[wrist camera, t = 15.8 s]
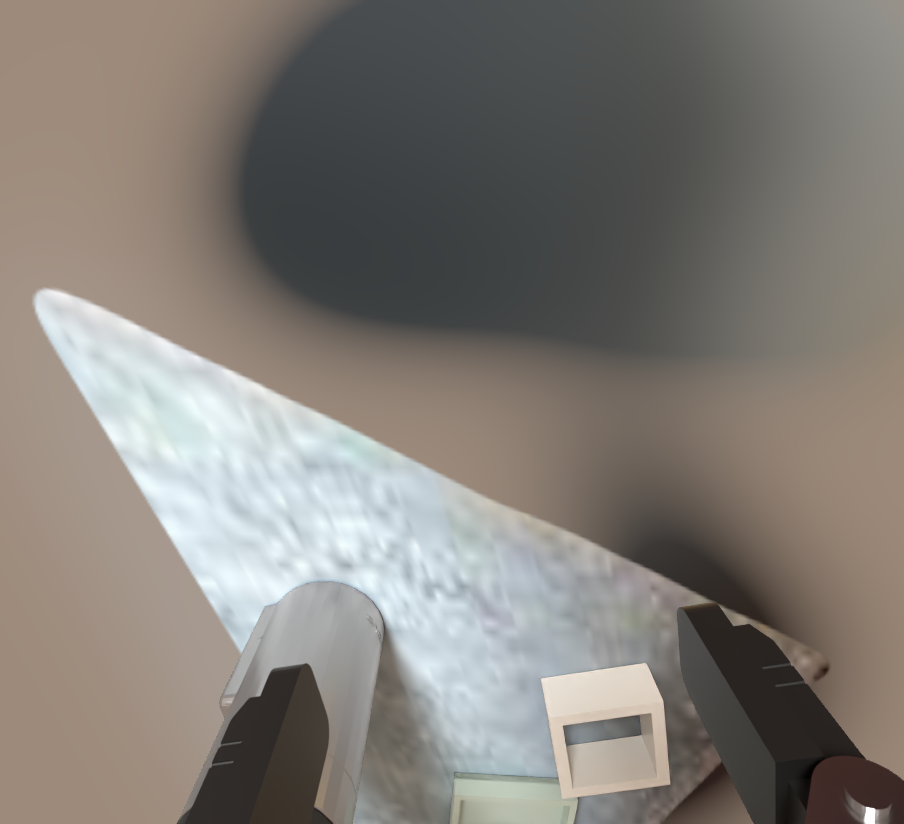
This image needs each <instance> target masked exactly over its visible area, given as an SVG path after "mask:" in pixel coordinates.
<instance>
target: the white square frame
mask: <svg viewBox="0 0 904 824" xmlns="http://www.w3.org/2000/svg"><path fill="white" fill-rule="evenodd" d="M541 683H542V689H543V694H544V700H545V706H546V712H547V718H548V724H549V730H550V735H551V741H552V747H553V753H554V759H555V764H556V769H557V774H558V779H559V785H560V790H561V795H562V799H567V798H574V797H582V796H589V795H597V794H604V793H612V792H619V791H626V790H634V789H641V788H649V787H656V786H664V785H670V775H669V763H668V751H667V739H666V727H665V715H664V703H663V699H662V697H661V695H660V693H659V690H658V688H657V686H656V684H655V681H654V679H653V677H652V675H651V672H650V670H649V668H648V666H647V663H642V664H635V665H628V666H622V667H615V668H608V669H601V670H594V671H588V672H581V673H574V674H567V675H561V676H554V677H547V678H541ZM633 715H640V724H641V734H642V735H640V736H633V737H625V738H618V739H611V740H604V741H597V742H590V743H582V744H575V745H568V746H566V743H565V737H564V731H563V725H570V724H577V723H584V722H591V721H598V720H605V719H612V718H619V717H626V716H633Z"/></svg>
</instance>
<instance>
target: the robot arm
mask: <svg viewBox="0 0 904 824" xmlns="http://www.w3.org/2000/svg"><path fill="white" fill-rule="evenodd" d="M677 621H678V636H679V651H680V664H681V671H682V675H683V679H684V683H685V686H686V689H687V691H688V694H689V696H690V698H691V700H692V702H693V704H694V706H695V708H696V710H697V712H698V714H699V716H700V718H701V720H702V722H703V724H704V726H705V728H706V730H707V732H708V734H709V736H710V738H711V740H712V742H713V744H714V746H715V748H716V750H717V752H718V754H719V756H720V758H721V760H722V762H723V764H724V766H725V768H726V770H727V772H728V773H729V776H730V778H731V779H732V782H733V783H734V785H735V787H736V789H737V791H738V793H739V795H740V797H741V799H742V801H743V803H744V805H745V807H746V809H747V811H748V813H749V815H750V817H751V819H752V821H753V823H754V824H904V781H903V780H902V779H901V778H900V777H898V776H897V775H896V774H894V773H893V772H891V771H890V770H888V769H887V768H885V767H883V766H881V765H879V764H877V763H874V762H872V761H869V760H866V759H865V757H864V756H863V755H862V754H861V753H860V752H859V750H858V749H857V748H856V746H855V745H854V744H853V743H852V741H851V740H850V739H849V738H848V736H847V735H846V734H845V732H844V731H843V730H842V728H841V727H840V726H839V724H838V723H837V722H836V721H835V719H834V718H833V717H832V715H831V714H830V713H829V712H828V710H827V709H826V708H825V707H824V705H823V704H822V703H821V701H820V700H819V699H818V697H817V696H816V695H815V693H814V692H813V691H812V690H811V688H810V687H809V686H808V684H805V683H804V679H803V678H802V677H801V675H800V674H799V673H798V672H797V670H796V669H795V668H794V666H791V664H790V661H789V660H788V659H787V657H786V656H785V655H784V653H783V652H782V651H781V650H780V648H779V647H778V646H777V644H776V643H775V642H774V641H773V640H772V639H770V638H769V637H768V636H766V635H765V634H763V633H762V632H760V631H759V630H757V629H756V628H754V627H753V626H751V625H750V624H746V625H740V626H733V625H732V624H731V622H730V621H729V619H728V618H727V617H726V615H725V614H724V612H723V611H722V609H721V608H720V607H719V605H718V604H716V603H715V602H712V603H705V604H699V605H692V606H686V607H679V608H678V610H677ZM383 635H384V626H383V620H382V617H381V615H380V613H379V610H378V609H377V608H376V606H375V605H374V603H373V602H372V601H371V600H370V599H369V598H368V597H366V596H365V595H364V594H363V593H361V592H359V591H358V590H356V589H355V588H352V587H349V586H347V585H344V584H340V583H335V582H313V583H307V584H305V585H302V586H299V587H297V588H295V589H293V590H292V591H290V592H289V593H287V594H286V595H285V596H284V597H283V598H282V599H281V600H280V601H279V602H278V603H277V604H274V605H270V606H266V607H265V608H264V609H263V611H262V613H261V616H260V618H259V620H258V622H257V624H256V626H255V628H254V630H253V632H252V634H251V636H250V638H249V640H248V642H247V644H246V646H245V648H244V650H243V652H242V654H241V656H240V659H239V661H238V663H237V665H236V667H235V669H234V671H233V673H232V675H231V677H230V679H229V681H228V683H227V685H226V687H225V689H224V691H223V693H222V695H221V698H220V702H219V703H220V709H221V711H222V713H223V716H224V718H225V719H224V722H223V724H222V726H221V728H220V730H219V732H218V734H217V737H216V739H215V741H214V743H213V746H212V748H211V750H210V752H209V754H208V757H207V759H206V761H205V763H204V765H203V768H202V770H201V772H200V774H199V777H198V779H197V781H196V783H195V785H194V788H193V790H192V792H191V794H190V796H189V798H188V801H187V803H186V805H185V807H184V809H183V812H182V814H181V816H180V818H179V820H178V822H177V824H353V820H354V814H355V808H356V801H357V795H358V789H359V783H360V777H361V771H362V765H363V759H364V752H365V746H366V740H367V734H368V728H369V722H370V716H371V710H372V704H373V698H374V692H375V686H376V680H377V674H378V668H379V662H380V658H381V653H382V643H383Z"/></svg>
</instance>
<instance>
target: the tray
mask: <svg viewBox="0 0 904 824" xmlns="http://www.w3.org/2000/svg"><path fill="white" fill-rule="evenodd" d="M577 805H578V799H577V797H574V798H567V799H562V795H561V790H560V785H559V779H558V778H542V777H524V776H507V775H489V774H471V773H454V782H453V791H452V800H451V810H450V819H449V824H574V819H575V814H576V809H577Z"/></svg>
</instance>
